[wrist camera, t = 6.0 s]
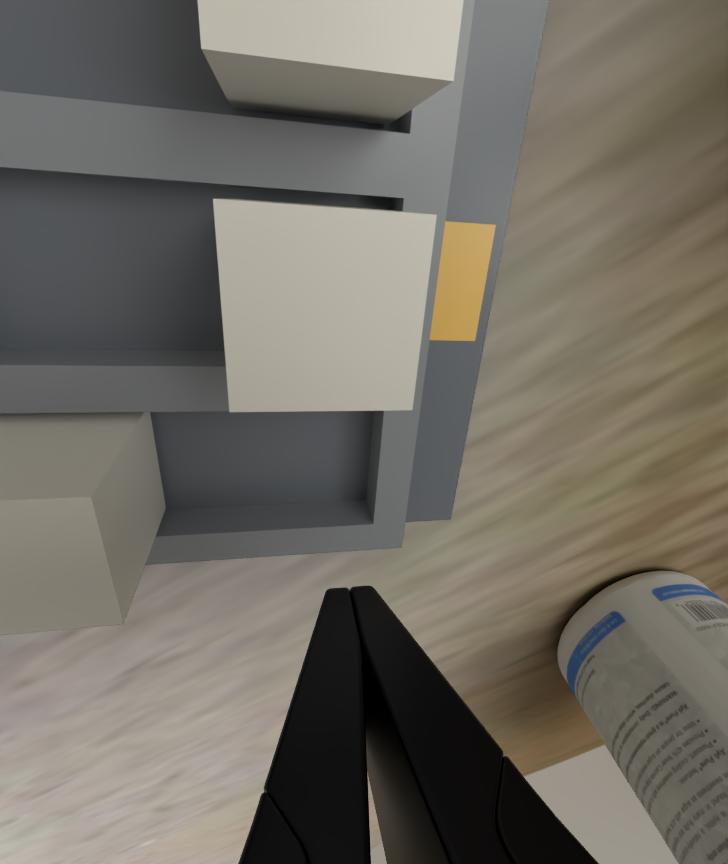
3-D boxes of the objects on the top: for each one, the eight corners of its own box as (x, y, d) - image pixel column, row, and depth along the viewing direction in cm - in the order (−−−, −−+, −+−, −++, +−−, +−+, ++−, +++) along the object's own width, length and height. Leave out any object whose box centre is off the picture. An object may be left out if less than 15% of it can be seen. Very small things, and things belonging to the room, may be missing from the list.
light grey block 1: (148, 404, 14) (90, 496, 10) (165, 507, 16) (123, 624, 12) (6, 406, 13) (-125, 505, 9) (41, 513, 15) (-55, 639, 11)
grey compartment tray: (548, -111, 11) (619, -192, 9) (441, 502, 20) (463, 543, 18) (-424, -323, 8) (-721, -544, 6) (-49, 526, 17) (-103, 581, 14)
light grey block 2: (382, 209, 13) (436, 214, 8) (372, 346, 15) (412, 410, 10) (236, 198, 12) (212, 198, 8) (244, 344, 14) (229, 412, 9)
